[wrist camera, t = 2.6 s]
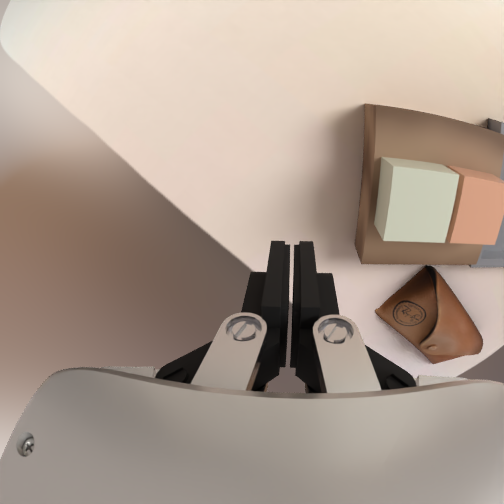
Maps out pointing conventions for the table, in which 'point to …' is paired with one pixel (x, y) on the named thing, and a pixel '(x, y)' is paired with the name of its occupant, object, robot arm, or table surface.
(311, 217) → the table surface
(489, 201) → the tile
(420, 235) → the pale green rectangular block
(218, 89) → the table surface
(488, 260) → the tray
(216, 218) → the table surface
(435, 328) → the sunglasses case
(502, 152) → the brown square slab
